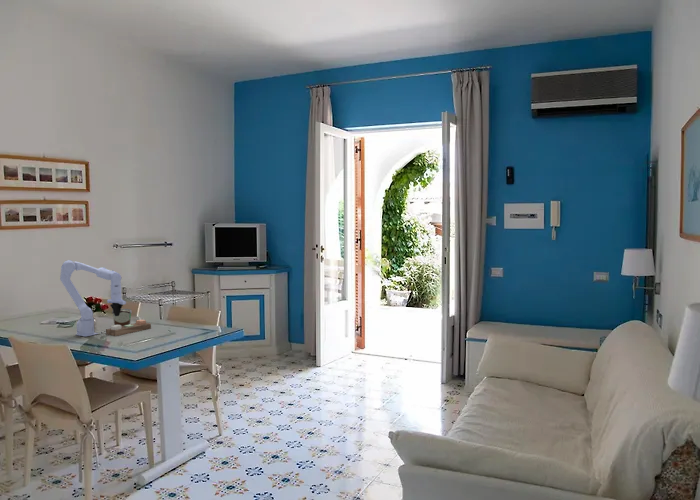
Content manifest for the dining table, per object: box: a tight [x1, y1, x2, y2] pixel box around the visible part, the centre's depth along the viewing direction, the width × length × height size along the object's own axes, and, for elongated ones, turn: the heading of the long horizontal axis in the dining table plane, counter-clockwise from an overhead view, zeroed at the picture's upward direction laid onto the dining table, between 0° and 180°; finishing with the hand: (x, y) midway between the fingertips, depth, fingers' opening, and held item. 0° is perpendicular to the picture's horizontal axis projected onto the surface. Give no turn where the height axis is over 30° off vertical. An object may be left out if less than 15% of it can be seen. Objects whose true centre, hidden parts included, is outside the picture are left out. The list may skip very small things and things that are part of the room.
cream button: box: [110, 325, 121, 330], centre depth 327 cm, size 4×4×3 cm
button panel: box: [105, 322, 152, 337], centre depth 334 cm, size 9×24×3 cm, turn 148°
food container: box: [111, 308, 133, 326], centre depth 352 cm, size 12×6×10 cm, turn 84°
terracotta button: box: [135, 319, 147, 325], centre depth 341 cm, size 4×4×3 cm
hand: (117, 315), depth 333 cm, fingers closed
